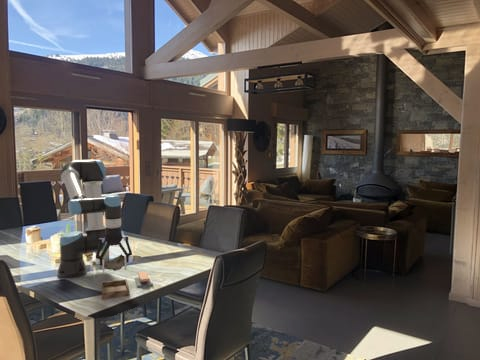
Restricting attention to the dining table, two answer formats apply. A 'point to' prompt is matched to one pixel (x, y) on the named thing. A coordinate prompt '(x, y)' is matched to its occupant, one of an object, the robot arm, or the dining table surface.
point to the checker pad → (143, 276)
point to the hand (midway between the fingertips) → (114, 270)
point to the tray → (114, 289)
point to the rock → (115, 263)
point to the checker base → (143, 282)
